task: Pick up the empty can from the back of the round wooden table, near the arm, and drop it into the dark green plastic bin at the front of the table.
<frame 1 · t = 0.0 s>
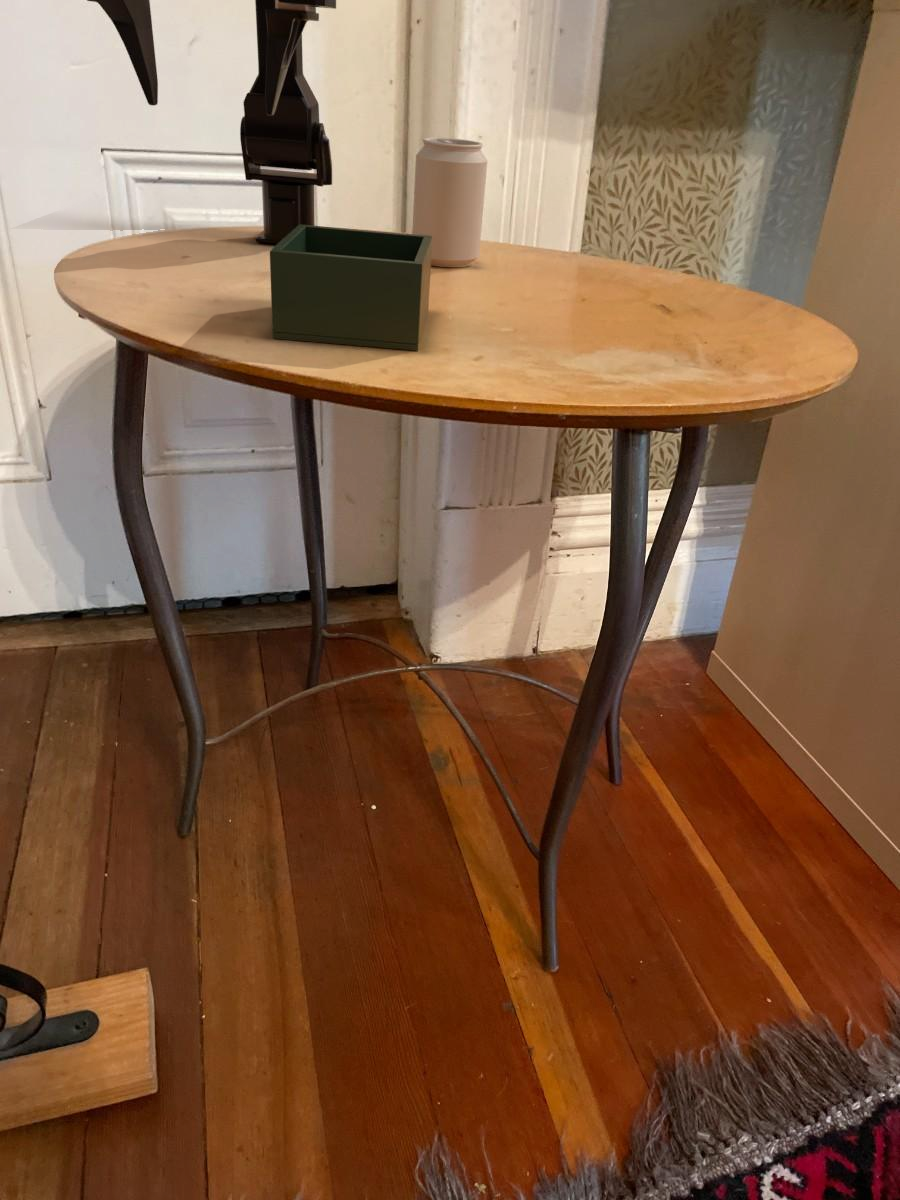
hand: (211, 110, 69), 15 cm above the table, tool pointing down, fingers open, 9 cm apart
bin: (355, 325, 74), on the table
can: (444, 263, 98), on the table
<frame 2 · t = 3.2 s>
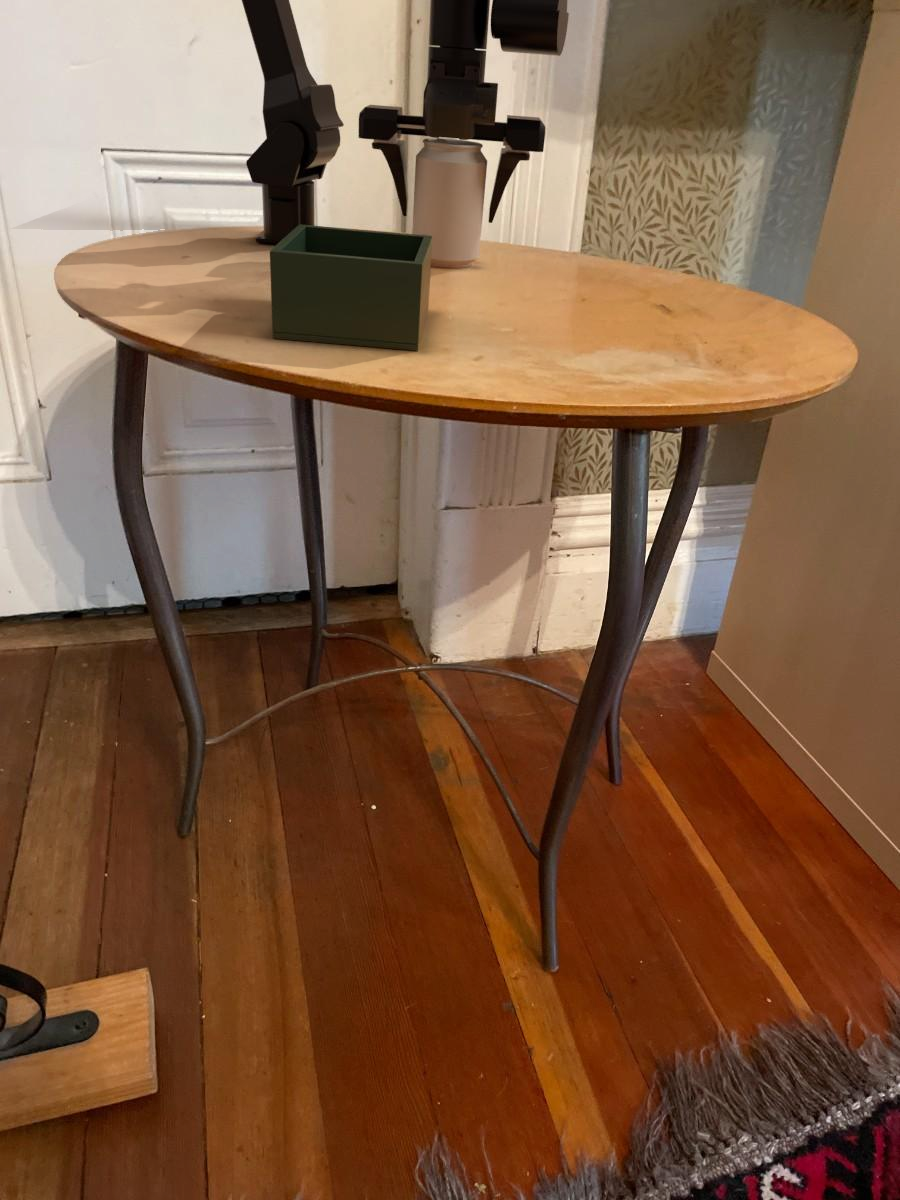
hand: (447, 219, 95), 4 cm above the table, tool pointing down
can: (444, 263, 98), on the table, touching gripper
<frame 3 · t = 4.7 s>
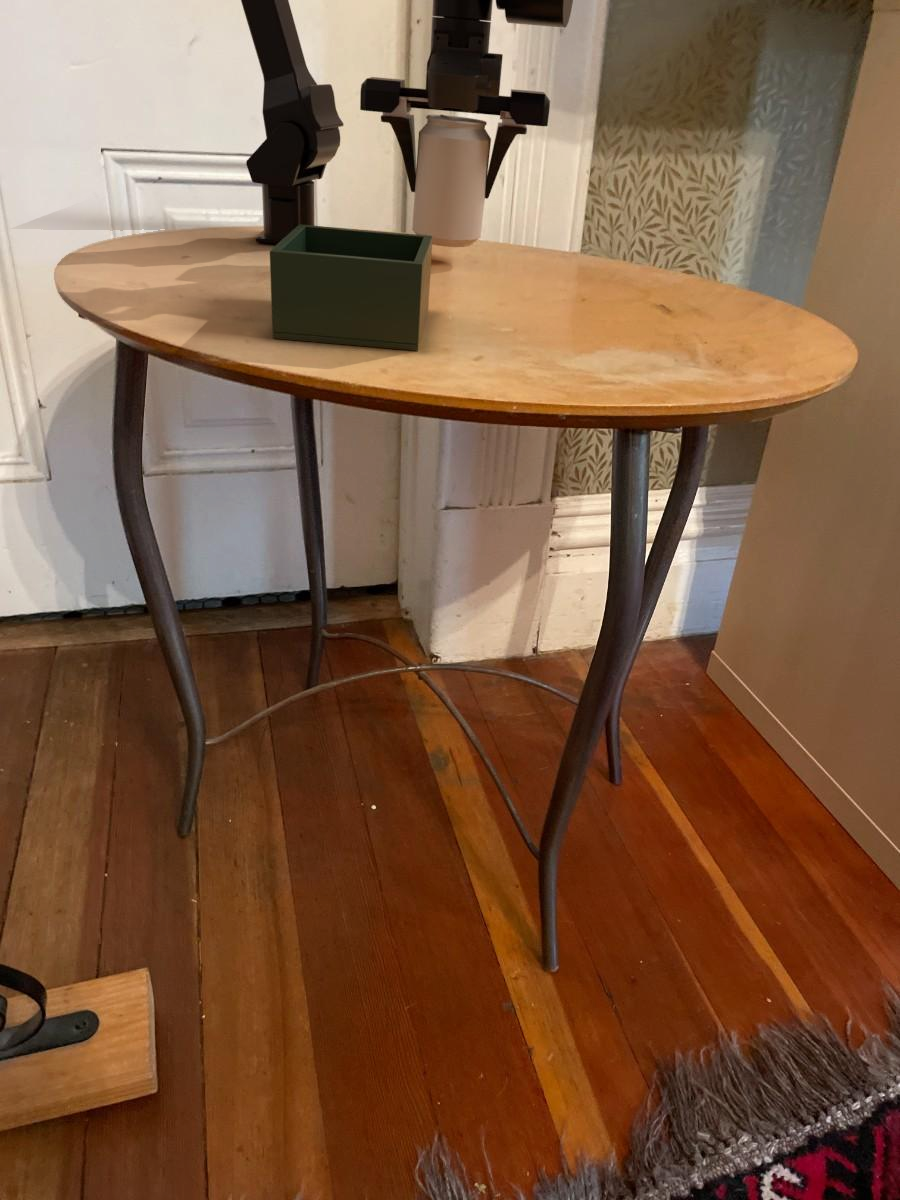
hand: (449, 194, 94), 7 cm above the table, tool pointing down, fingers closed on can, 7 cm apart
can: (445, 243, 97), point 2 cm above the table, touching gripper
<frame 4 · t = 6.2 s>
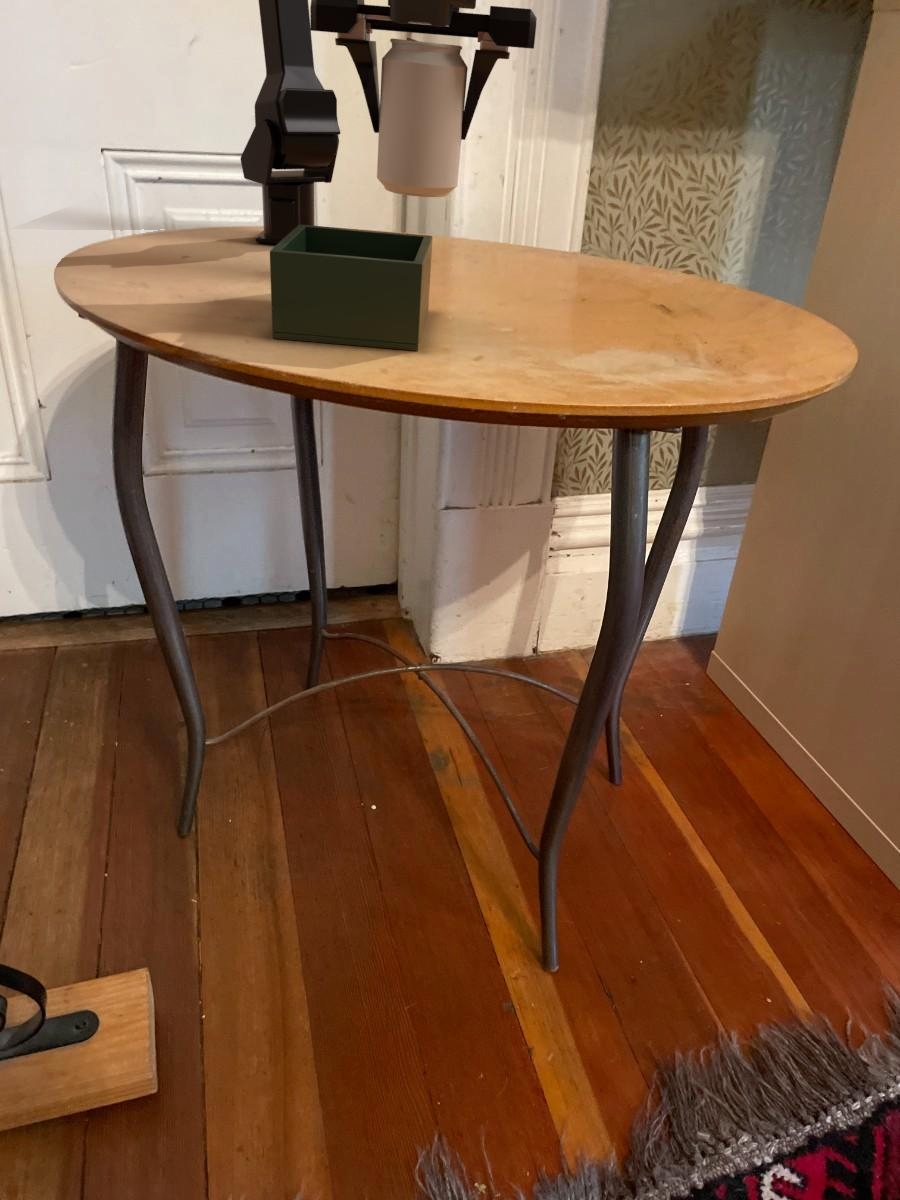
hand: (419, 135, 80), 13 cm above the table, tool pointing down, fingers closed on can, 7 cm apart
can: (416, 194, 83), point 8 cm above the table, touching gripper
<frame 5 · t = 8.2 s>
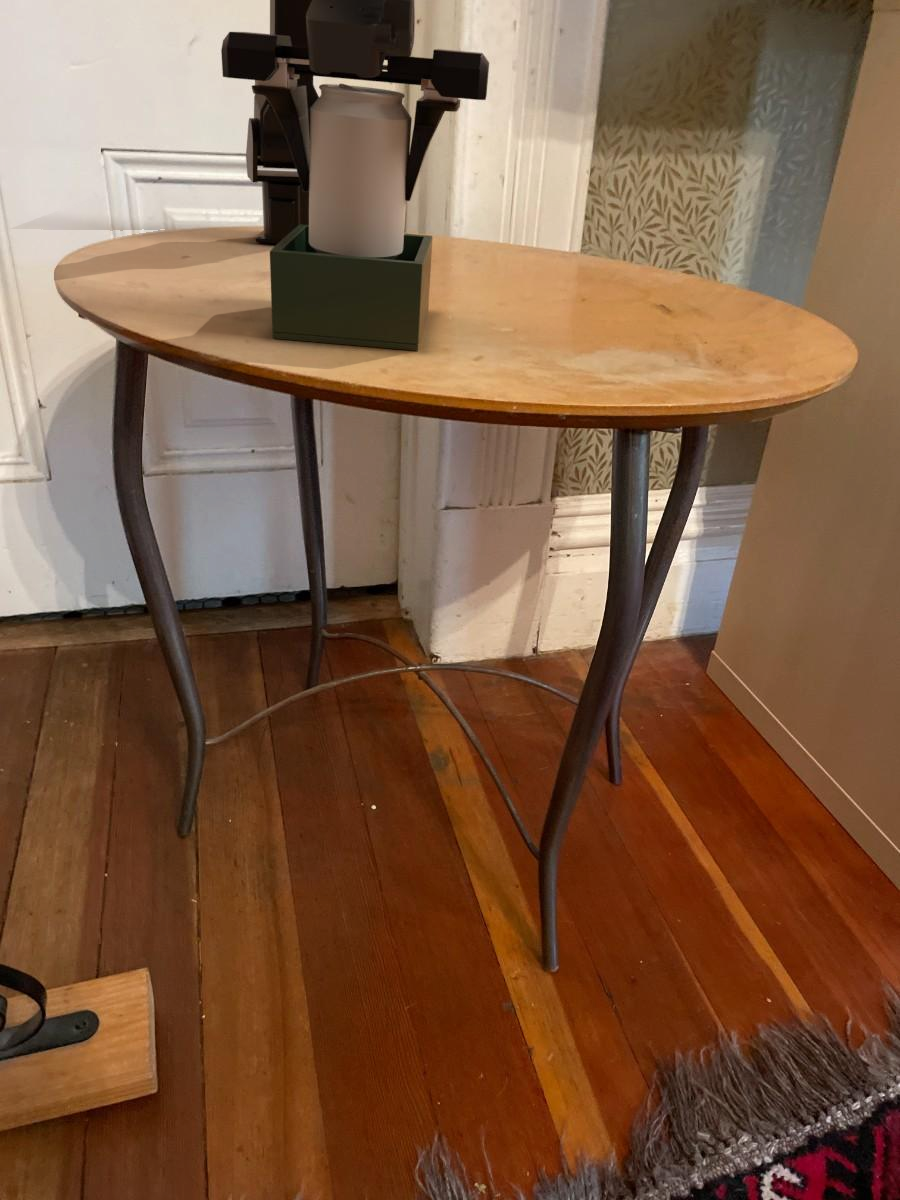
hand: (357, 195, 69), 10 cm above the table, tool pointing down, fingers closed on can, 7 cm apart
can: (355, 260, 71), point 5 cm above the table, touching gripper
when the fingers open (7 cm above the table, at t = 9.5 s): can drops 2 cm, resting on bin.
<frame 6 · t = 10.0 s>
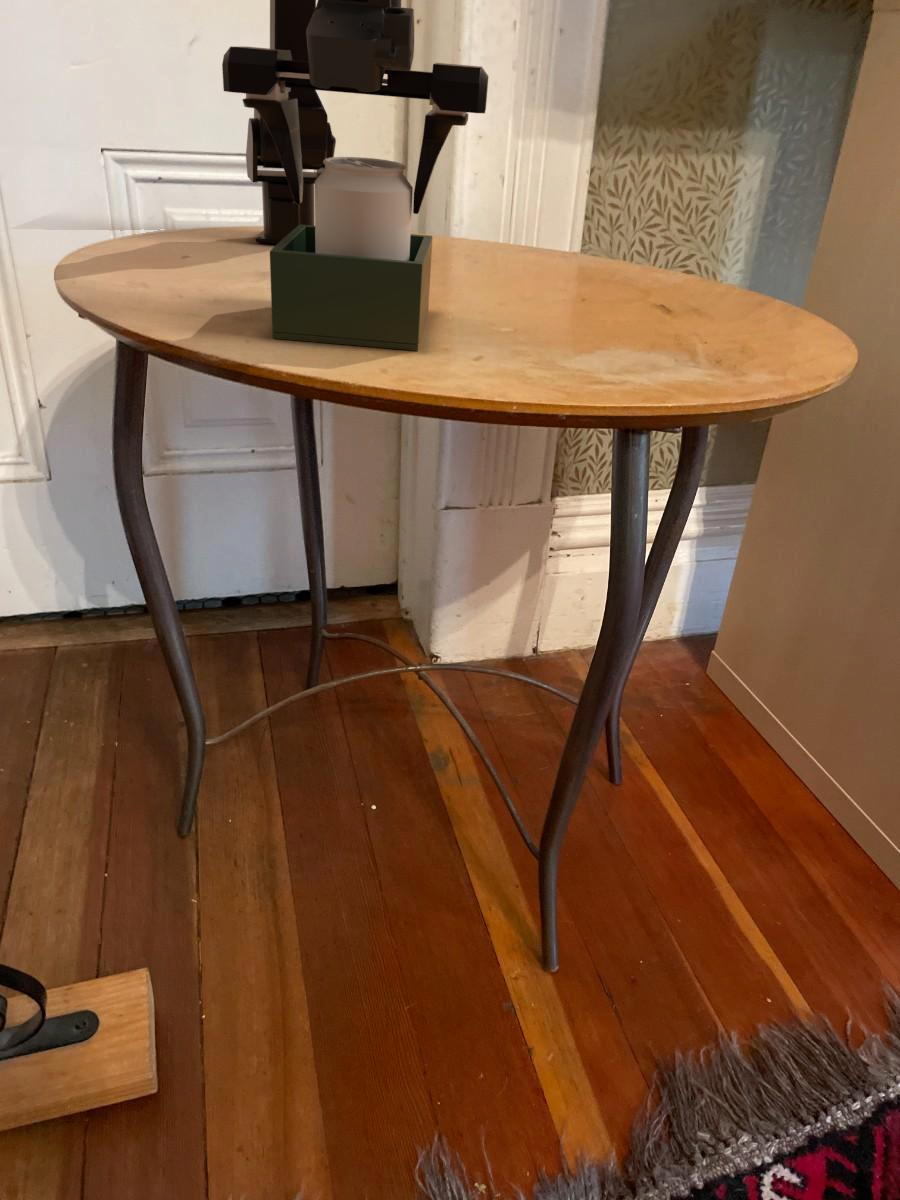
hand: (357, 208, 69), 9 cm above the table, tool pointing down, fingers open, 9 cm apart
can: (361, 322, 74), resting on bin
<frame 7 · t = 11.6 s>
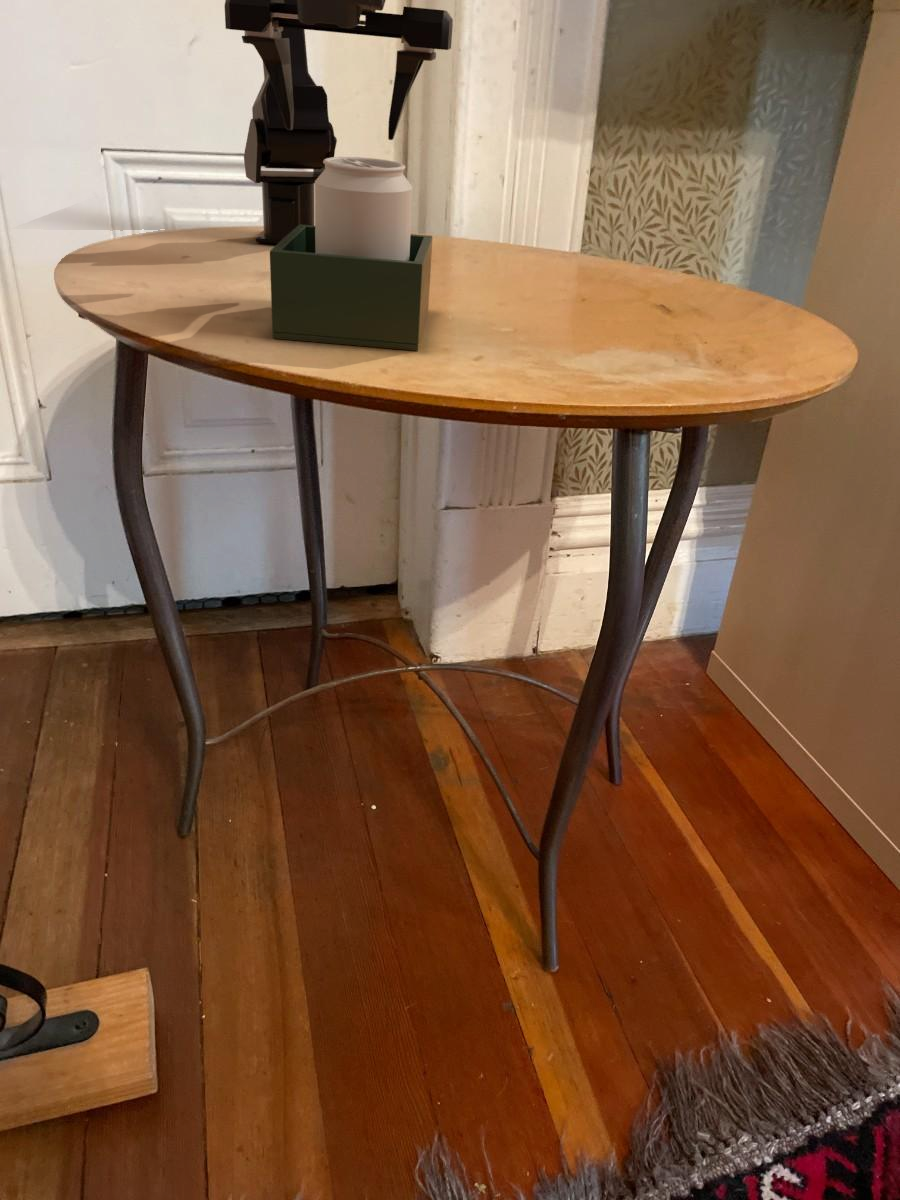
hand: (340, 134, 80), 13 cm above the table, tool pointing down, fingers open, 9 cm apart
nothing on the table moved.
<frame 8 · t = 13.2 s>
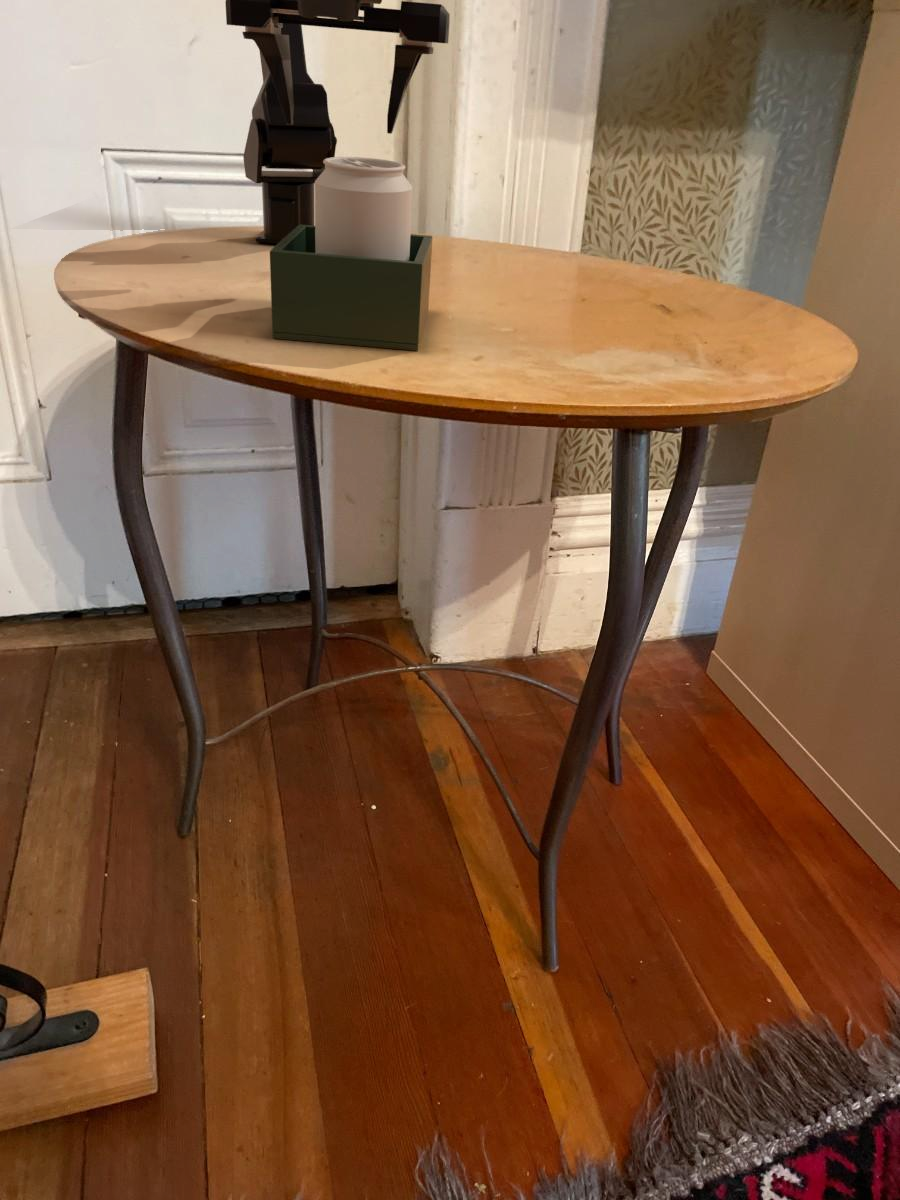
hand: (339, 128, 81), 13 cm above the table, tool pointing down, fingers open, 9 cm apart
nothing on the table moved.
at the end: can inside the target area in the bin (0.5 cm from its centre), point 0.3 cm above the bin's base; the gripper is holding nothing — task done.
